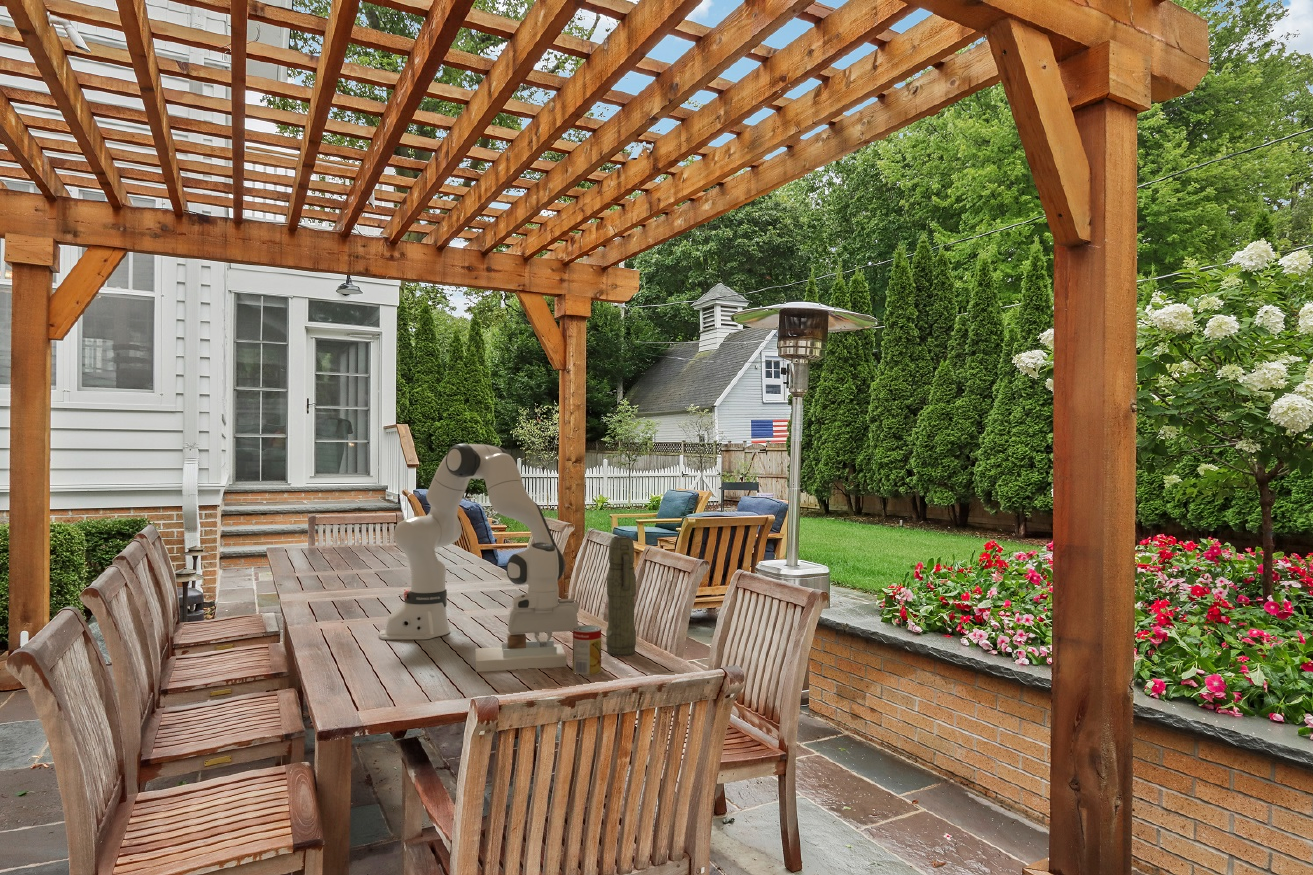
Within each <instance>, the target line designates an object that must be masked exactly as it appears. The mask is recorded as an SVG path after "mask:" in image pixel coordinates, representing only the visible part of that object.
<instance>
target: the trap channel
mask: <svg viewBox="0 0 1313 875" xmlns="http://www.w3.org/2000/svg"><path fill="white" fill-rule="evenodd" d="M540 641H544V639H543V640H540ZM474 650H475V652H474V653H475V654H474V658H475V659H474V660H475V661H474V662H475V672H476V673H482V672H496V671H497V672H499V671H513V670H515V671H517V670H516V669H518V670H529V669H528V668H536V669H548V668H549V669H551V668H553V669H554V668H565V667H566V668H567V655H566V652H565V650H564V648H563V646H562V644H559V643H558V644H556V643H555V642H554V639H550V640H549V642H548V647H538V642H537V640H526V648H517V649H507V642H506V641H505V642H501V647H496V646H495V647H481V648H479V647H477V648H475V649H474Z"/></svg>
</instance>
